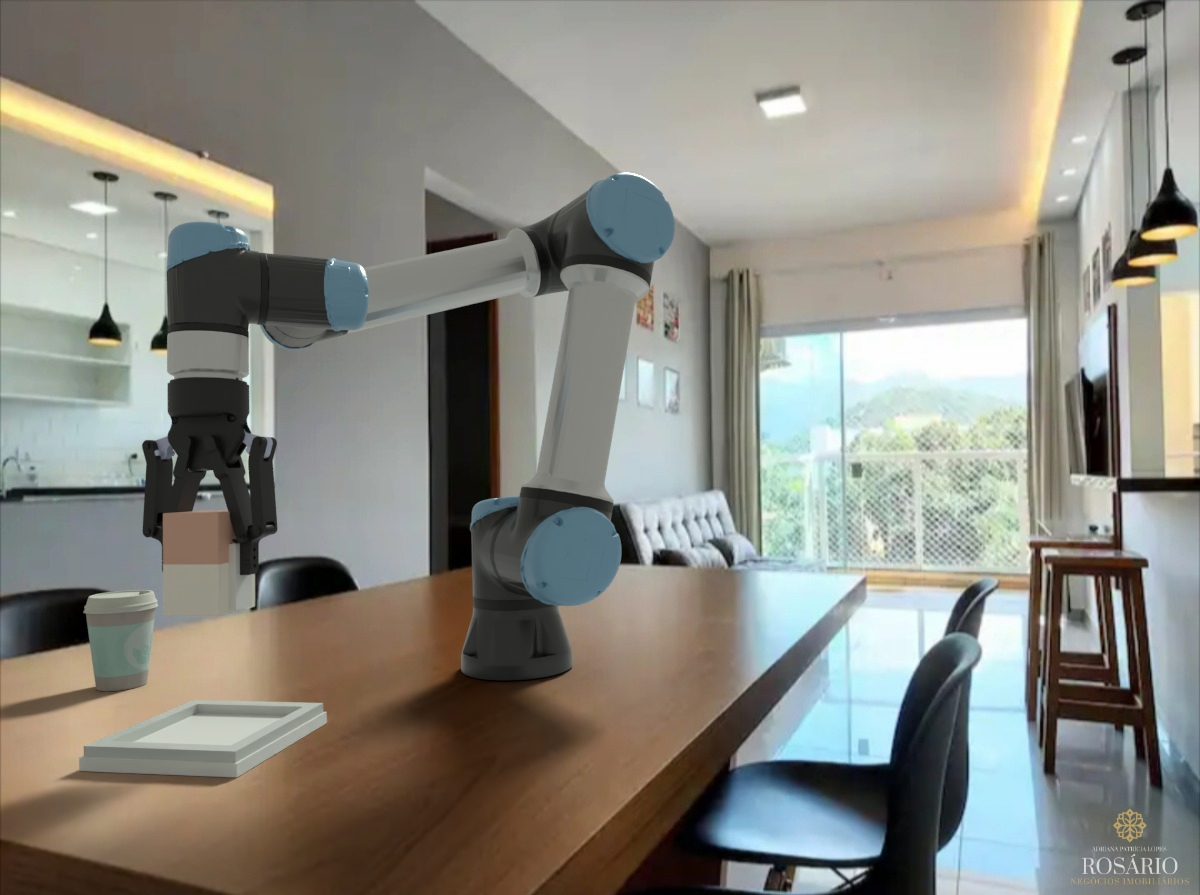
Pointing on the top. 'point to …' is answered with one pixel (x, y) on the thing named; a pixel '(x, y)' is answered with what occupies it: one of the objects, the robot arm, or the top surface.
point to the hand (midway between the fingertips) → (210, 607)
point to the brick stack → (197, 563)
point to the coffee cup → (121, 637)
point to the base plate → (205, 738)
